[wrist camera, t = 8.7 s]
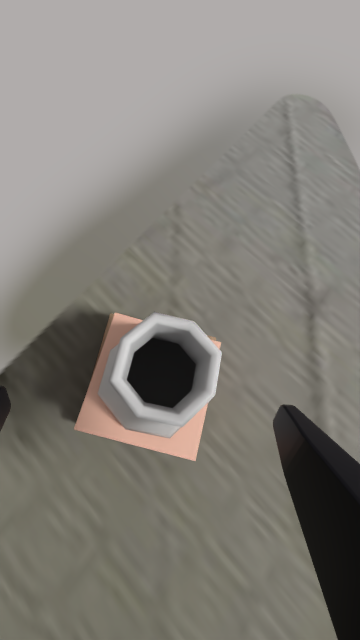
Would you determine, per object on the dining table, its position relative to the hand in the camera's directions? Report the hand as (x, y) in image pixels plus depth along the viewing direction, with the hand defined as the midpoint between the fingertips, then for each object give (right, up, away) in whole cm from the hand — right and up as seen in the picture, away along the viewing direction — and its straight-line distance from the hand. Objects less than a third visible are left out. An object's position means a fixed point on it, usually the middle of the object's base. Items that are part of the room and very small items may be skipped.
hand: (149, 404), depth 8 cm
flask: (-1, -1, +9) cm, 9 cm away
